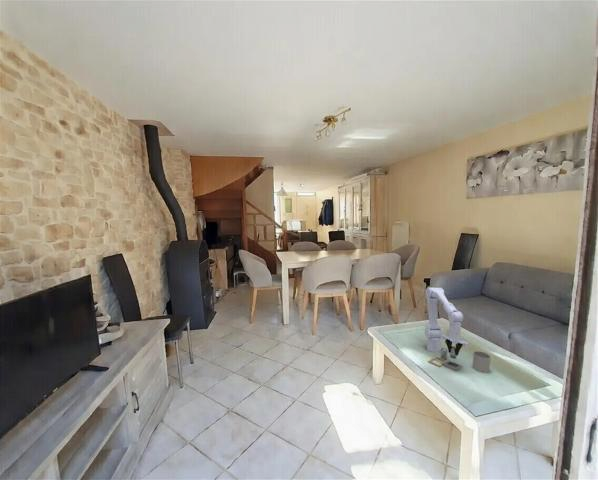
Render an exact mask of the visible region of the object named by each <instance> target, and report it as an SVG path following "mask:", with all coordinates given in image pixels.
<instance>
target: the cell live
mask: <svg viewBox="0 0 598 480" xmlns="http://www.w3.org/2000/svg"><path fill="white" fill-rule="evenodd" d="M457 356H458V355H457ZM457 356H456V345H455V346H451V348H450V353H449V357H450V358H451V359H455V360H456V359H457Z"/></svg>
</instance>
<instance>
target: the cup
mask: <svg viewBox="0 0 598 480" xmlns="http://www.w3.org/2000/svg"><path fill="white" fill-rule="evenodd" d="M472 354H473V355H472V369H474V370H475V371H476V372H479V373H482V374H488V373H490V368H491V367H490V366H491V355H489V354H488V353H486V352H484V351H479V350H476V351H473V353H472Z"/></svg>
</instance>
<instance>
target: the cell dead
mask: <svg viewBox="0 0 598 480" xmlns="http://www.w3.org/2000/svg"><path fill="white" fill-rule="evenodd" d="M440 351H441V352H440V359H443V360H445V361H447V360H448V348H445V347H442V348H441V349H440Z"/></svg>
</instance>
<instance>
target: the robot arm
mask: <svg viewBox="0 0 598 480" xmlns="http://www.w3.org/2000/svg"><path fill="white" fill-rule="evenodd" d="M425 298H426V300H427V309H428V324H427V325H426V326H425V327H424V328H425V329H424V335H425V337H426V338H427V339H426V350H427V351H429V352H431V353H438V352H439V351H441V349H442V348H441V347H442V340H441V339H445V340H444V343H445V344H446V347H447V353H449V354H450V348H451V346H452V345H453V343H456V344H455V347H456V356H459V354H460V351H461V349H462V347H463V346H464V347H465V348H468V347H469V342H468V341H465V340H463V339H461V329H462V322H464V321H465V320H464V319H465V316H464V314H463V312H462V311H459V310H458V309H457V308H456V307H455V306H454V304H453V302H449V300H448V298H447V297H446V295H445V290H444V288H443V287H426V289H425ZM437 300H438V301H439V302H440V303H441V304H442V305H443V306H442V308H443V310H445V312H446V314H447V317H448V324H449V329H448V331H449V333H448V335H447V334H443V331H442V327H441V326H440V325H439V324H438V314H437Z"/></svg>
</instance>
